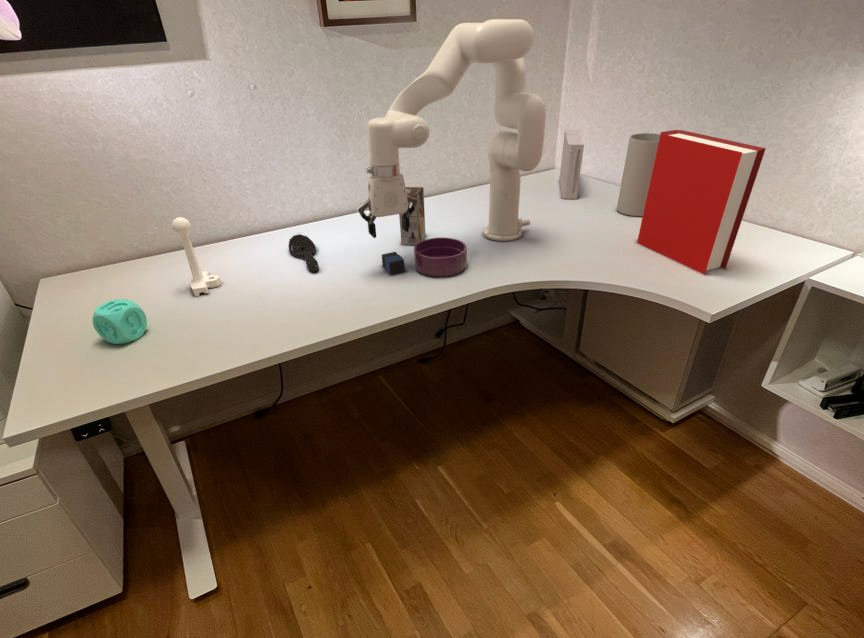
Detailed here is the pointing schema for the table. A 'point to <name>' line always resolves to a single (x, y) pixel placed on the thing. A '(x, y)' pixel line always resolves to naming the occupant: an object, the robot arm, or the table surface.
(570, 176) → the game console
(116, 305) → the decorative dice
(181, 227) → the joystick
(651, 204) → the book
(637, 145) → the cylinder vase
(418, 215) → the coffee box
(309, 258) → the hairbrush
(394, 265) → the eraser
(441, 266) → the bowl
